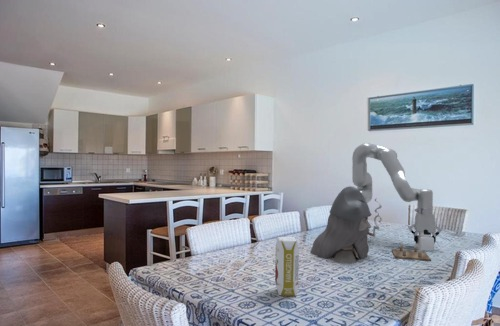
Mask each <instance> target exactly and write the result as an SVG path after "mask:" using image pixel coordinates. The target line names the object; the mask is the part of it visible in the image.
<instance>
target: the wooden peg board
mask: <svg viewBox="0 0 500 326" xmlns="http://www.w3.org/2000/svg"><path fill="white" fill-rule="evenodd" d="M413 247H414V248H413V250H412V249H411V250H410V249H409V250H408V249H407V248H404V244H403V243H399V249H397V248H391V253H392V254H393V257H394V258H395V259H398V260H399V259H401V260H411V261H412V260H413V261H421V262H424V261H425V262H432V258H431V257H430V256H429V255H428V254H427V252H425V251H422V250H419V249H418V245H416V244H413Z"/></svg>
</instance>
